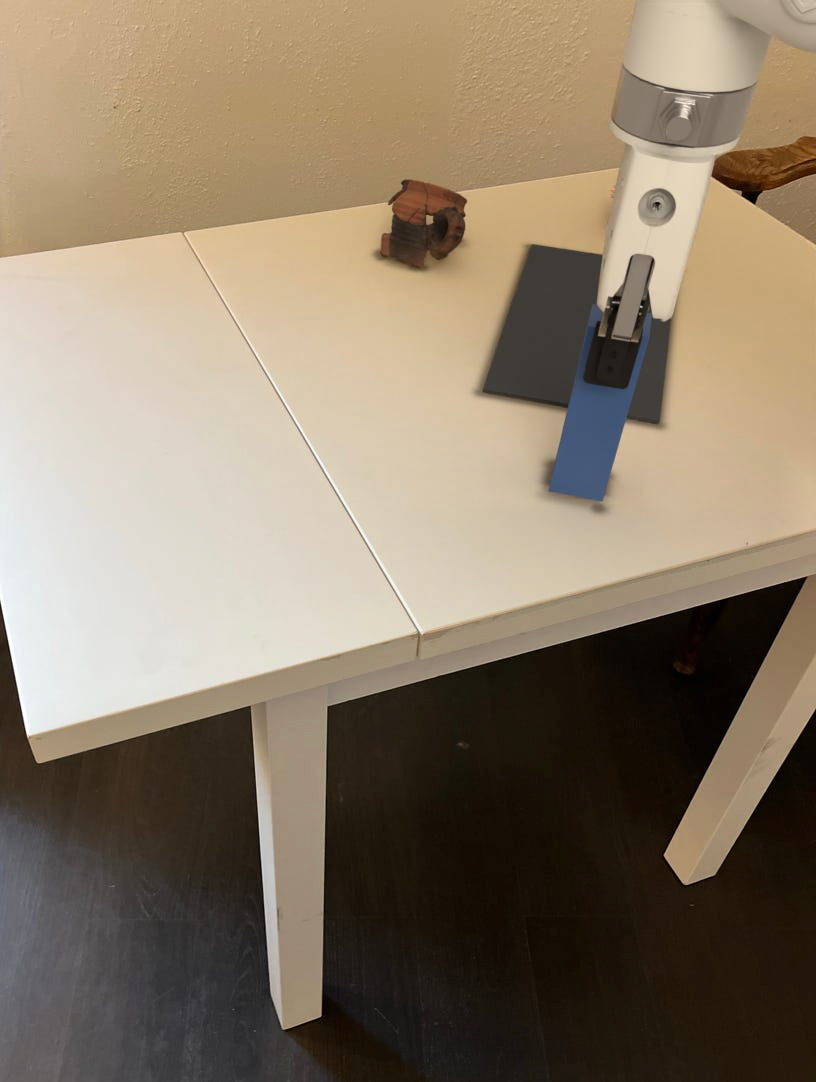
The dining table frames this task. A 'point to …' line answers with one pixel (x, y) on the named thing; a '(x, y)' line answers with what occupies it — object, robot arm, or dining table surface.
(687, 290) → the dining table surface
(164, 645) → the dining table surface
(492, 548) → the dining table surface
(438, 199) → the brown broken pot
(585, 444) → the blue post
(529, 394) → the rubber mat
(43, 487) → the dining table surface
